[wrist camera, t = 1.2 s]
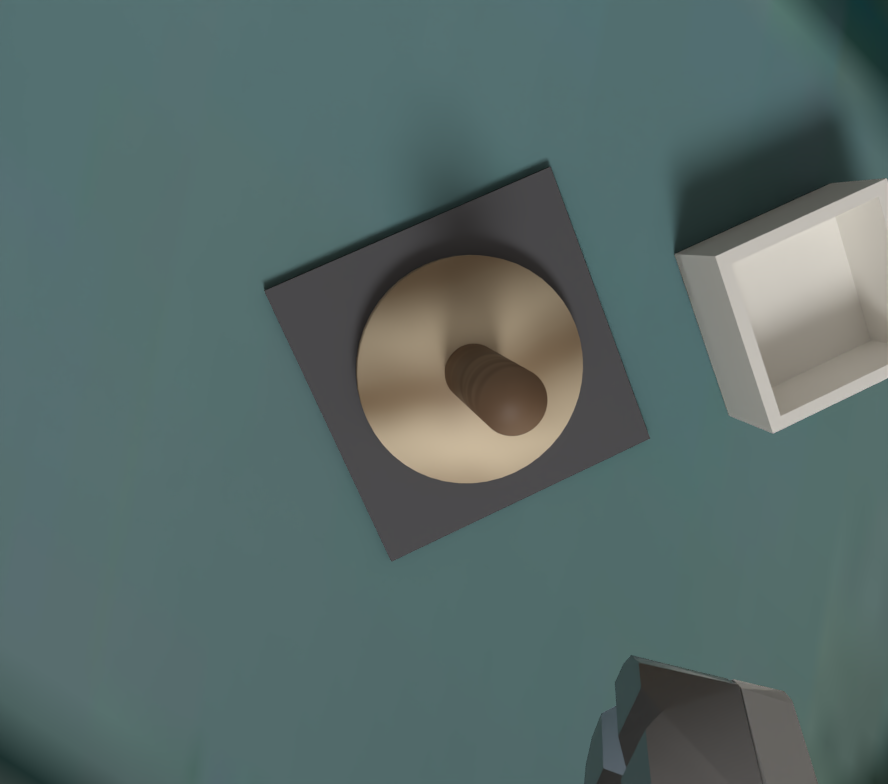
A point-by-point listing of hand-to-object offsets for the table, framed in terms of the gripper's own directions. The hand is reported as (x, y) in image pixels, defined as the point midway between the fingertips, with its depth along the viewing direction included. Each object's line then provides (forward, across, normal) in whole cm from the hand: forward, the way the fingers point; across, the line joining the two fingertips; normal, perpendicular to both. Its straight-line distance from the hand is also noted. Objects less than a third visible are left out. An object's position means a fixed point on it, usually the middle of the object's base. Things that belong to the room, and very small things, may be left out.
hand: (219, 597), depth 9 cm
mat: (+34, -2, +14) cm, 37 cm away
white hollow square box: (+41, -18, +8) cm, 46 cm away
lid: (+34, -2, +14) cm, 37 cm away
